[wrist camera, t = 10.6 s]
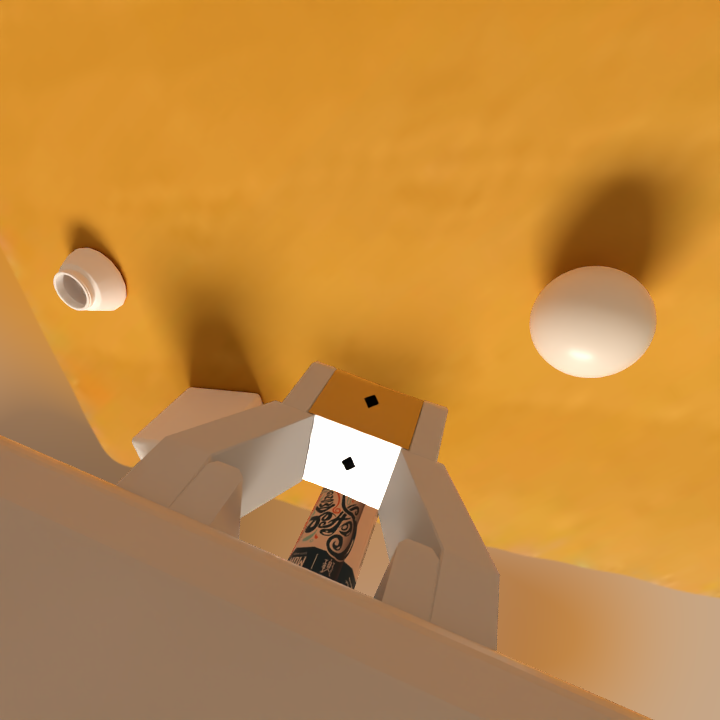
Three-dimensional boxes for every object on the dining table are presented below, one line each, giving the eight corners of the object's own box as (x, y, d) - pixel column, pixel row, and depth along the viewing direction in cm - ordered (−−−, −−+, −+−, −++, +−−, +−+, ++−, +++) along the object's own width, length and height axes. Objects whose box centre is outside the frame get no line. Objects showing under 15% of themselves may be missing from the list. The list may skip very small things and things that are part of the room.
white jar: (132, 315, 35) (127, 259, 32) (103, 331, 33) (96, 273, 30) (80, 293, 36) (71, 237, 33) (48, 308, 33) (35, 248, 30)
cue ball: (686, 372, 18) (688, 267, 20) (564, 326, 18) (579, 225, 20) (597, 405, 23) (606, 319, 25) (501, 370, 23) (519, 286, 25)
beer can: (374, 446, 34) (316, 588, 24) (399, 489, 36) (354, 638, 26) (325, 455, 36) (255, 588, 27) (351, 495, 38) (294, 634, 28)
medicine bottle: (189, 385, 37) (72, 489, 27) (260, 391, 35) (161, 508, 25) (212, 447, 41) (116, 559, 31) (279, 457, 38) (198, 581, 29)
